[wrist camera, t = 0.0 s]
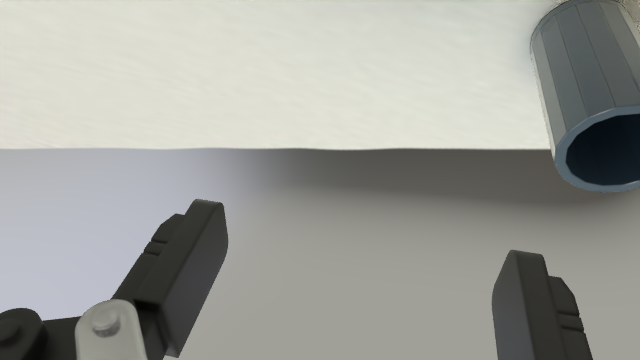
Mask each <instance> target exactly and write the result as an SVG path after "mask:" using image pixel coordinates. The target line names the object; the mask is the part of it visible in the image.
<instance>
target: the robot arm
mask: <svg viewBox="0 0 640 360" xmlns="http://www.w3.org/2000/svg"><path fill="white" fill-rule="evenodd" d="M227 248H228V234H227V227H226V219H225V212H224V206H223V204H222V203H220V202H214V201H208V200H201V199H195V200H194V201H193V202H192V204H191V205H190V207H189V209H188V210H187V212H186V214H185V215H181V214H174V215H173V216H172V217H170V218H169V219H168V220H166V221H165V222H164V223H162V224H161V225H160V227H159V228H158V229H157V231H156V232H155V234H154V235H153V237H152V239H151V242H149V243H148V244H147V246H146V247H145V249H144V252H143V253H142V254H141V255H140V257H139V258H138V259H137V261H136V262H135V264H134V265H133V267H132V268H131V270H130V272H129V273H128V275H127V276H126V278H125V279H124V281H123V282H122V284H121V285H120V287H119V288H118V290H117V291H116V293H115V294H114V295H113V297H112V298H111V299H110V300H107V301H103V302H101V303H98V304H96V305H94V306H93V307H91V308H90V309H88V310H87V311H86V312H85V313H84V314H83V315H82V316H79V317H72V318H63V319H55V320H46V321H42V320H41V319H40V317H39V315H38V314H37V313H36V312H35V311H33V310H31V309H27V308H16V309H11V310H8V311H5V312H2V313H0V360H163V358H164V356H165V355H167V356H172V357H176V358H178V357H179V355H180V353H181V351H182V349H183V347H184V345H185V343H186V340H187V338H188V336H189V334H190V332H191V330H192V328H193V325H194V323H195V321H196V319H197V317H198V315H199V313H200V310H201V308H202V306H203V304H204V302H205V300H206V298H207V295H208V294H209V291H210V289H211V287H212V285H213V283H214V281H215V278H216V277H217V274H218V272H219V270H220V268H221V266H222V264H223V262H224V259H225V257H226V253H227ZM492 312H493V321H494V328H495V338H496V346H497V354H498V360H593V358H592V355H591V352H590V348H589V345H588V341H587V338H586V334H585V333H584V327H583V324H582V321H581V318H579V310H578V307H577V304H576V301H575V297H574V295H573V293H572V292H571V291H570V289H569V288H568V287H567V285H566V284H565V283H564V281H563V280H562V279H561V278H559V277H553V276H548V272H547V268H546V264H545V260H544V257H543V256H542V255H541V254H536V253H529V252H523V251H517V250H510V252H509V253H508V255H507V257H506V260H505V262H504V264H503V267H502V269H501V271H500V274H499V276H498V278H497V281H496V283H495V285H494V289H493V294H492Z"/></svg>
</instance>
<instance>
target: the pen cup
mask: <svg viewBox="0 0 640 360" xmlns="http://www.w3.org/2000/svg"><path fill="white" fill-rule="evenodd" d="M530 51H531V60H532V65H533V69H534V74H535V78H536V83H537V87H538V92H539V97H540V101H541V106H542V110H543V115H544V120H545V124H546V129H547V133H548V138H549V142H550V147H551V152H552V156H553V160H554V165H555V167H556V169H557V170H558V172H559V174H560V176H561V177H562V178H563V179H564V180H566V181H567V182H569V183H571V184H572V185H574V186H576V187H578V188H581V189H586V190H590V191H595V192H622V191H627V190H631V189H635V188H638V187H640V32H639V30H638V29H637V27H636V25H635V23H634V21H633V20H632V18H631V16H630V15H629V14H628V12H627V11H626V9H625V8H624V7H623V6H622V5H621V4H619V3H618V2H616V1H614V0H571V1H568V2H566V3H564V4H562V5H560V6H558V7H556V8H555V9H554V10H552V11H551V12H550V13H549V14H547V15H546V16H545V17H544V18H543V19H542V20H541V22H540V23H539V24H538V26H537V27H536V29H535V31H534V33H533V36H532V39H531V44H530Z"/></svg>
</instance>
